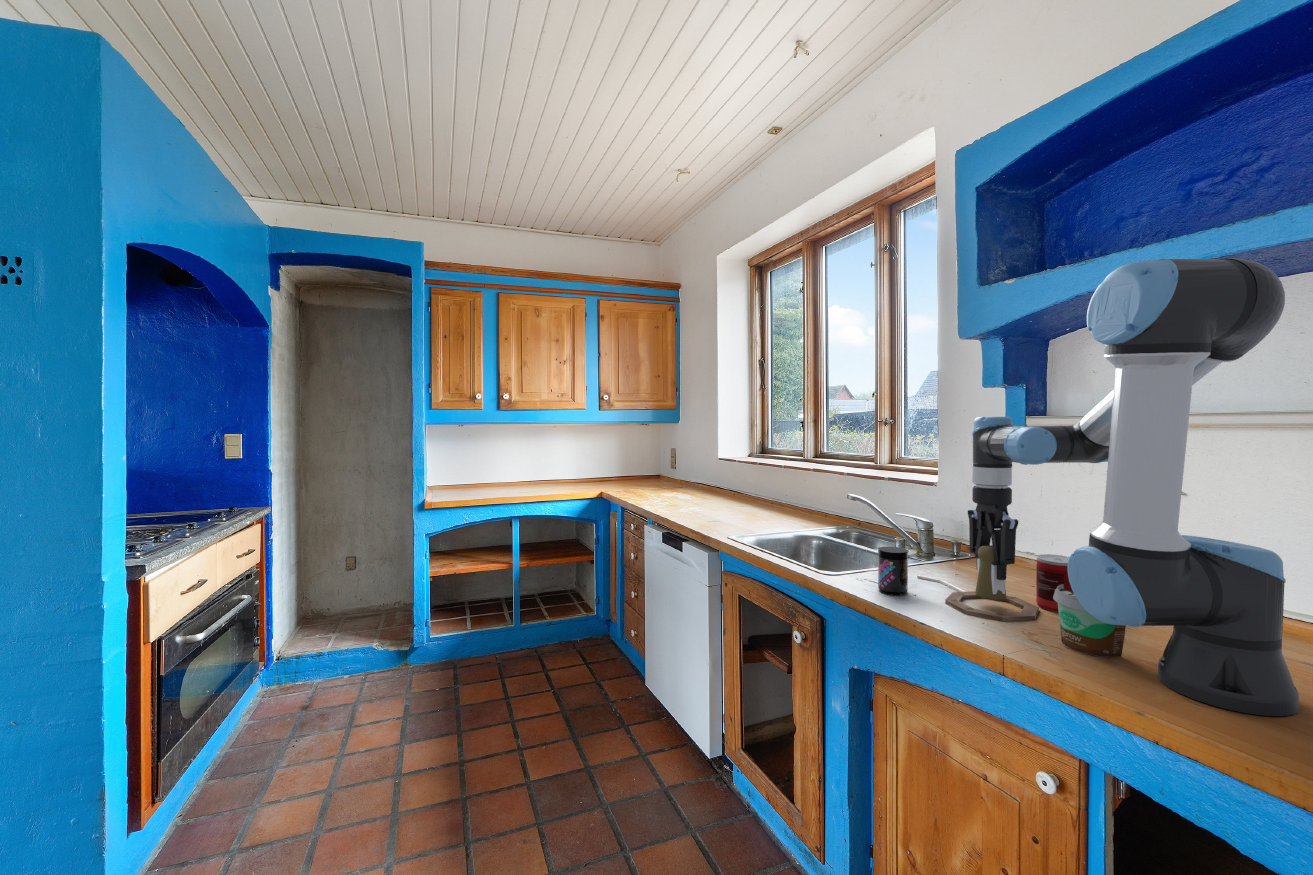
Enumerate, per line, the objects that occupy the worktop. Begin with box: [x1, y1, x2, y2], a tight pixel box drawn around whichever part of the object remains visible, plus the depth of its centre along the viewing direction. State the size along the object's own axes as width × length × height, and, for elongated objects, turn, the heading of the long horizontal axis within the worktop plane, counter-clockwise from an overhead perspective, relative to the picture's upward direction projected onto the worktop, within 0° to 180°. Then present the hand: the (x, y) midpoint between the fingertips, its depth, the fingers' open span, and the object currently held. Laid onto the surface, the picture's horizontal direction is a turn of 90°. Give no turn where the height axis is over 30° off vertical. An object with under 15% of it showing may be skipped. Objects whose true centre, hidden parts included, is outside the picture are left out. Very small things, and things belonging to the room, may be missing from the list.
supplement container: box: [877, 545, 909, 596], centre depth 136 cm, size 7×7×10 cm
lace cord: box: [916, 574, 967, 592], centre depth 141 cm, size 15×4×1 cm, turn 5°
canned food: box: [1035, 553, 1073, 613], centre depth 124 cm, size 8×8×11 cm
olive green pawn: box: [975, 544, 1007, 601], centre depth 125 cm, size 6×6×11 cm
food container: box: [1053, 584, 1127, 658], centre depth 102 cm, size 12×6×10 cm, turn 19°
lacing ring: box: [945, 590, 1040, 622], centre depth 125 cm, size 17×17×1 cm
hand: (990, 589), depth 125 cm, fingers closed on olive green pawn, 4 cm apart
